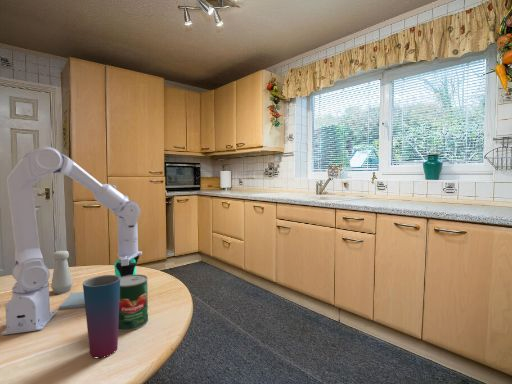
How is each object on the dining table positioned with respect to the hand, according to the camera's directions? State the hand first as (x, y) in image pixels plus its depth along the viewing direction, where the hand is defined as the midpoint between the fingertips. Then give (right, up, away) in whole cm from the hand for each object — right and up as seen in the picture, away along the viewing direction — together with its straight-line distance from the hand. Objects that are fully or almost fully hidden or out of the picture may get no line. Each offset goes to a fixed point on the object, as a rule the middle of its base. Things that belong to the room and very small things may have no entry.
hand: (128, 282), depth 89 cm
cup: (+8, -5, -30) cm, 31 cm away
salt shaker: (-23, -4, +3) cm, 23 cm away
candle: (0, -4, 0) cm, 4 cm away
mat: (-11, -4, -4) cm, 13 cm away
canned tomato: (+9, -5, -18) cm, 21 cm away
